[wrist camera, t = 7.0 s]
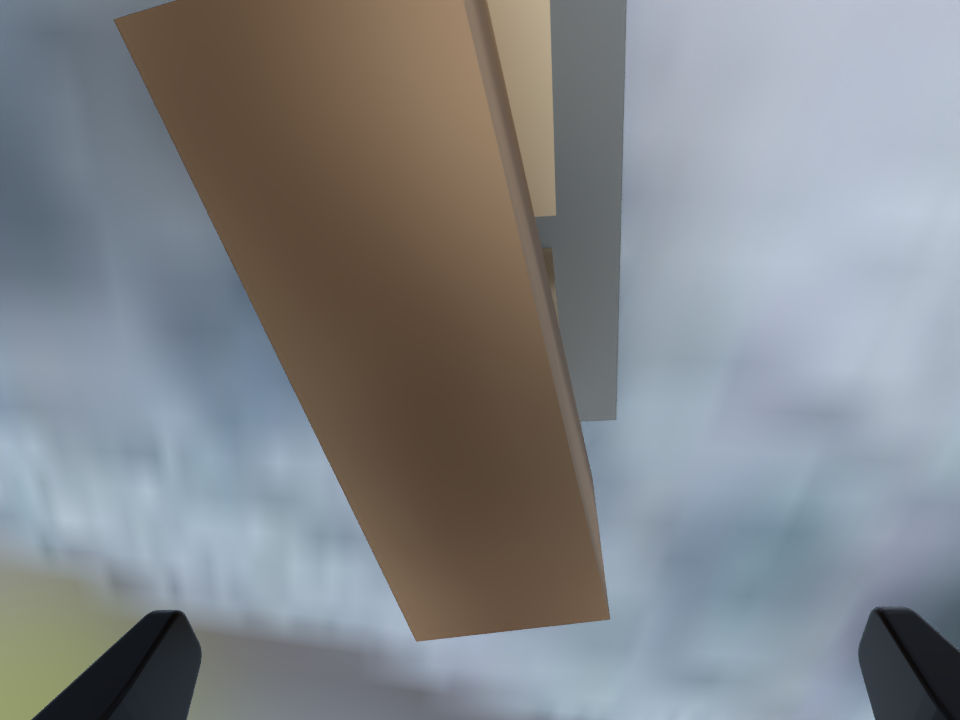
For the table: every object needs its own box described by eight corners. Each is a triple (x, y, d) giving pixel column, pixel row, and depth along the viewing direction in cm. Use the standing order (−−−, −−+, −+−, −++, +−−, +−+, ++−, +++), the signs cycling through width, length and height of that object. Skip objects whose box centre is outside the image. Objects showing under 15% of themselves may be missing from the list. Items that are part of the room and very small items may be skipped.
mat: (626, -152, 14) (630, -154, 13) (613, 407, 22) (616, 419, 21) (284, -114, 14) (276, -115, 14) (390, 416, 22) (388, 428, 22)
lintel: (467, -88, 11) (444, -81, 7) (592, 478, 17) (610, 619, 14) (231, -17, 11) (113, 19, 8) (435, 501, 18) (416, 641, 14)
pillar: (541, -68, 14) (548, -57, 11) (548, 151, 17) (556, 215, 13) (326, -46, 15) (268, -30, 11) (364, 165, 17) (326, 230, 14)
